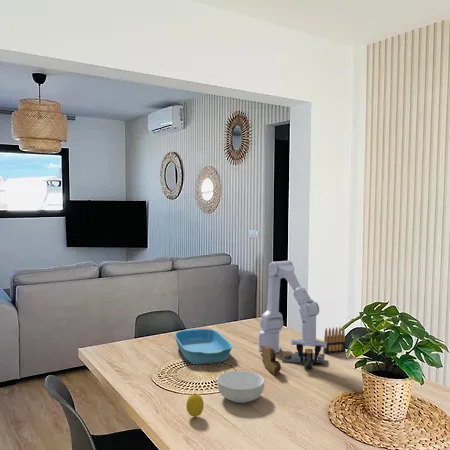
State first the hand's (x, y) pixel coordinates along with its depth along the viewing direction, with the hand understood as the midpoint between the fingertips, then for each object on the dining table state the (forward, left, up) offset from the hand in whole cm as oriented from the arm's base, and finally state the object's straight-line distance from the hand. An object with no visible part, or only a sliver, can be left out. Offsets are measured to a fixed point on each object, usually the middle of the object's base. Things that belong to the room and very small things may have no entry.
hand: (308, 362), depth 190 cm
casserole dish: (-49, +6, -3) cm, 50 cm away
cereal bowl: (-21, -36, -3) cm, 42 cm away
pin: (0, 0, -2) cm, 2 cm away
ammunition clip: (+10, +24, -3) cm, 26 cm away
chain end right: (0, +9, -2) cm, 9 cm away
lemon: (-32, -54, -3) cm, 63 cm away
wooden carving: (-15, -7, -3) cm, 17 cm away
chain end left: (-5, +9, -2) cm, 11 cm away
